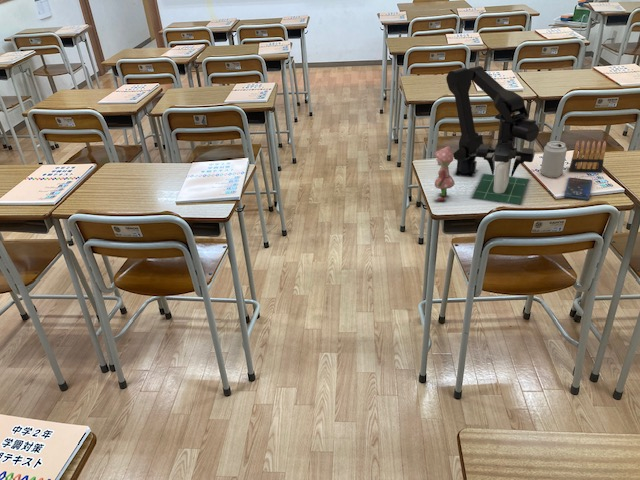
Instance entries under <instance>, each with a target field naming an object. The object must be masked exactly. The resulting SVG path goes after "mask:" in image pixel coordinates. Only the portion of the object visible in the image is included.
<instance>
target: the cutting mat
mask: <svg viewBox="0 0 640 480" xmlns="http://www.w3.org/2000/svg"><path fill="white" fill-rule="evenodd" d="M494 177H495V174H493V175H492V174H487V173H484V174H483V175H482V177H481V179H480V181H479V183H478V185H477V187H476V189H475V191H474V193H473V195H472V197H471V198H472V199H475V200H483V201H490V202H498V203H506V204H512V205H521V203H522V200H523V198H524V195H525V191H526V188H527V185H528V182H529V178H522V177H515V176H512V177H511V176H509V182H508V185H507V188H506V190H505V192H504V193H501V194H498V193H495V192H494V191H493V187H494Z"/></svg>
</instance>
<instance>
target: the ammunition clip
mask: <svg viewBox="0 0 640 480" xmlns="http://www.w3.org/2000/svg"><path fill="white" fill-rule="evenodd" d="M601 144H602V145H601ZM606 148H607V141H606V140H604V141H603V143H602V142H601V140H598V142H597V144H596V140H593V142H592V143H591V141H590V140H587V142H586V145H585V140H582V141H581V144H580V141H579V140H577V141H576V143H575V146H574V150H573V152H572V157H571V161H570V164H569V169H568V170H569V172H570V173H602V172H603V166H604V161H605V155H606Z"/></svg>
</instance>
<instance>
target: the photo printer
mask: <svg viewBox="0 0 640 480" xmlns="http://www.w3.org/2000/svg"><path fill="white" fill-rule="evenodd" d="M511 165H512V159H509V162H507V163H504V162H495V170H494V175H495V177H494V187H493V191H494V192H495V193H498V194H501V193H504V192H505V190H506V188H507V185H508V182H509V177H510V176H511V175H510V174H511Z"/></svg>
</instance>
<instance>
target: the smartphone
mask: <svg viewBox="0 0 640 480" xmlns="http://www.w3.org/2000/svg"><path fill="white" fill-rule="evenodd" d="M592 185H593V180H592V179H587V178H578V177H568V180H567V183H566V188H565V191H564V197H565V198H569V199H570V198H571V199H576V200H577V199H578V200H583V201H584V200H585V201H588V200H590V197H591V192H592V191H591V190H592Z"/></svg>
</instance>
